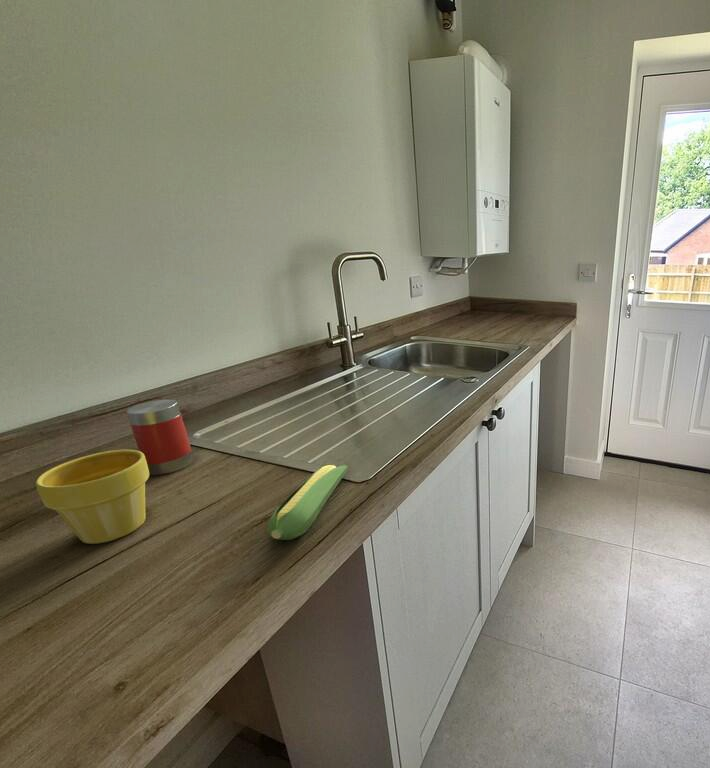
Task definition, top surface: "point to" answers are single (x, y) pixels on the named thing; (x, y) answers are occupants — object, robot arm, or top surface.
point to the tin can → (161, 436)
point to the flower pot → (98, 494)
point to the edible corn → (305, 503)
